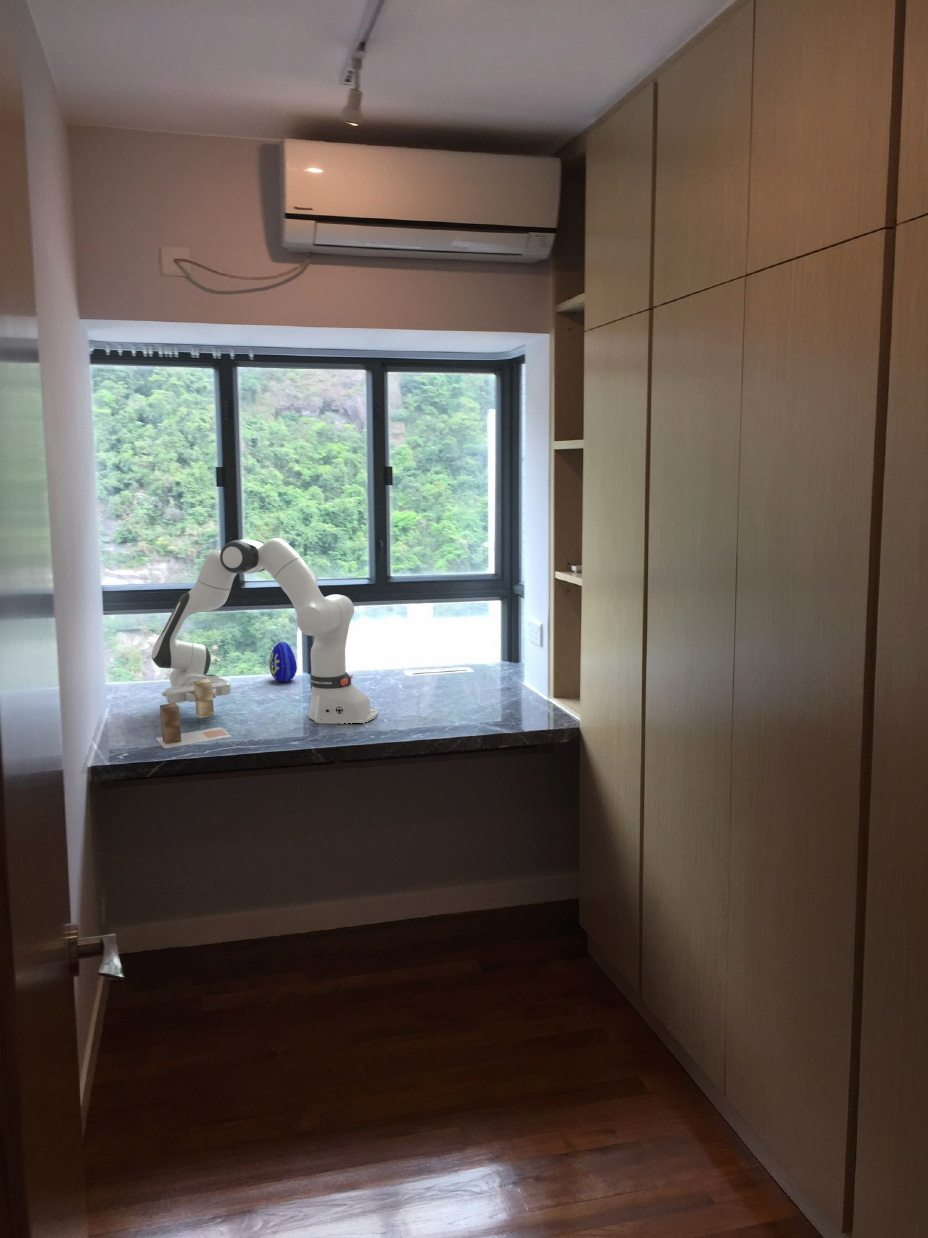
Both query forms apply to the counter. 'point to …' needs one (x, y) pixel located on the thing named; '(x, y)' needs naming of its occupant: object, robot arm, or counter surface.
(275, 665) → the ornament
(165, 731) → the walnut pillar
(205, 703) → the birch pillar
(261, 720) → the counter surface
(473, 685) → the counter surface
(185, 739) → the white mat
